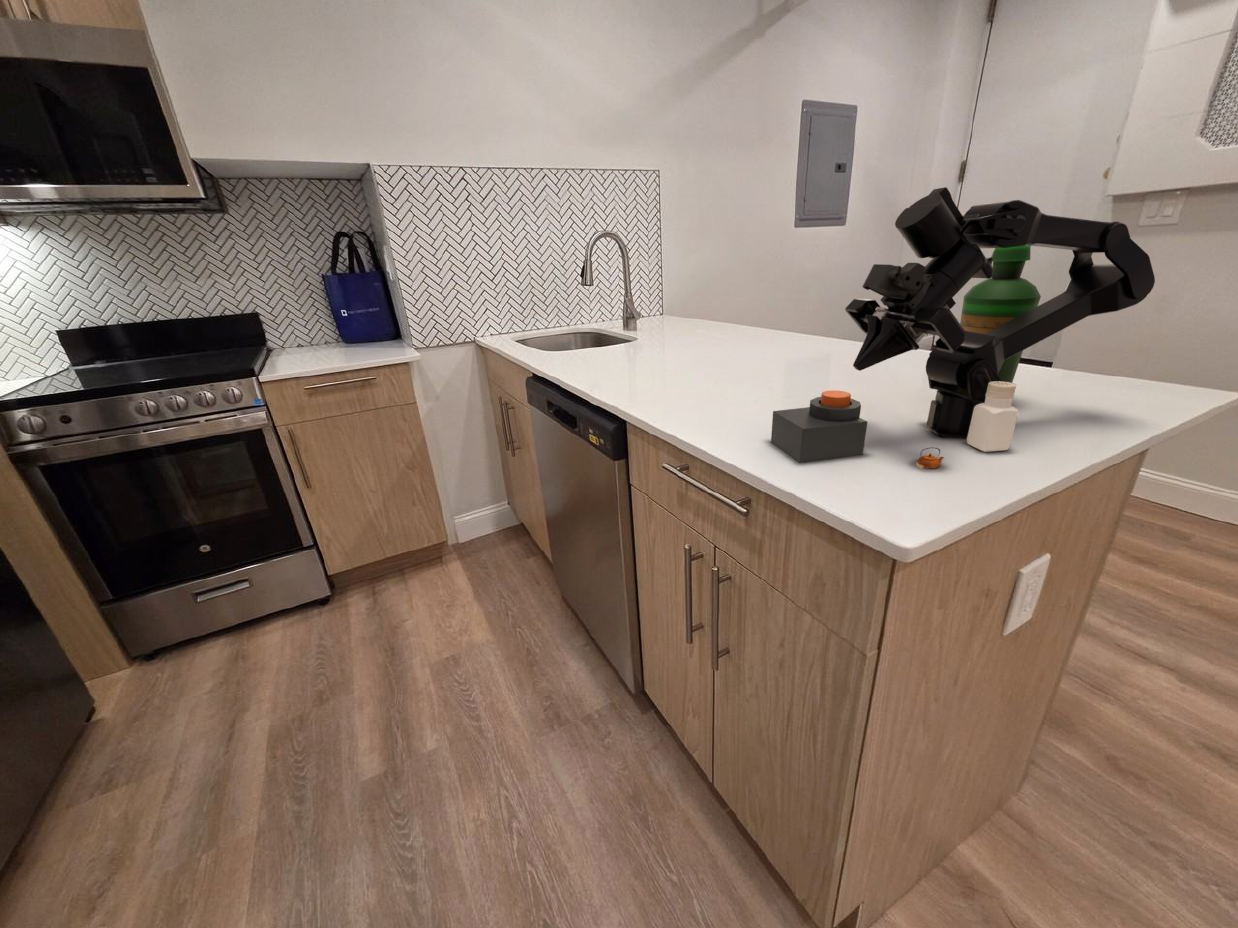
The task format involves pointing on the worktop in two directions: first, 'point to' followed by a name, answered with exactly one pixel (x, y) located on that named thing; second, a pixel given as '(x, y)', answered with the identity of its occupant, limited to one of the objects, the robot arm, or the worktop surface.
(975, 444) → the pepper shaker
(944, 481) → the worktop surface
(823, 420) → the push button base
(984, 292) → the bottle
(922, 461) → the teapot
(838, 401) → the orange push button
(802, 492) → the worktop surface
